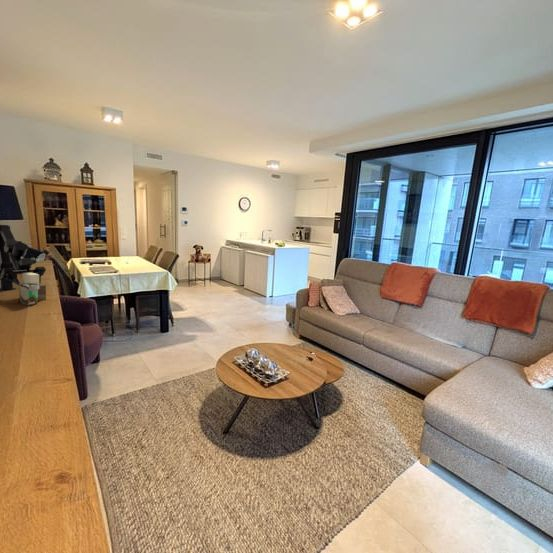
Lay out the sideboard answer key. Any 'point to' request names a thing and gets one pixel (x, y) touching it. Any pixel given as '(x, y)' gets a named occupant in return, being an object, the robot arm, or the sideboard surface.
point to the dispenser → (39, 292)
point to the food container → (29, 293)
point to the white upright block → (31, 278)
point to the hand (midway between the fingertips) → (30, 284)
